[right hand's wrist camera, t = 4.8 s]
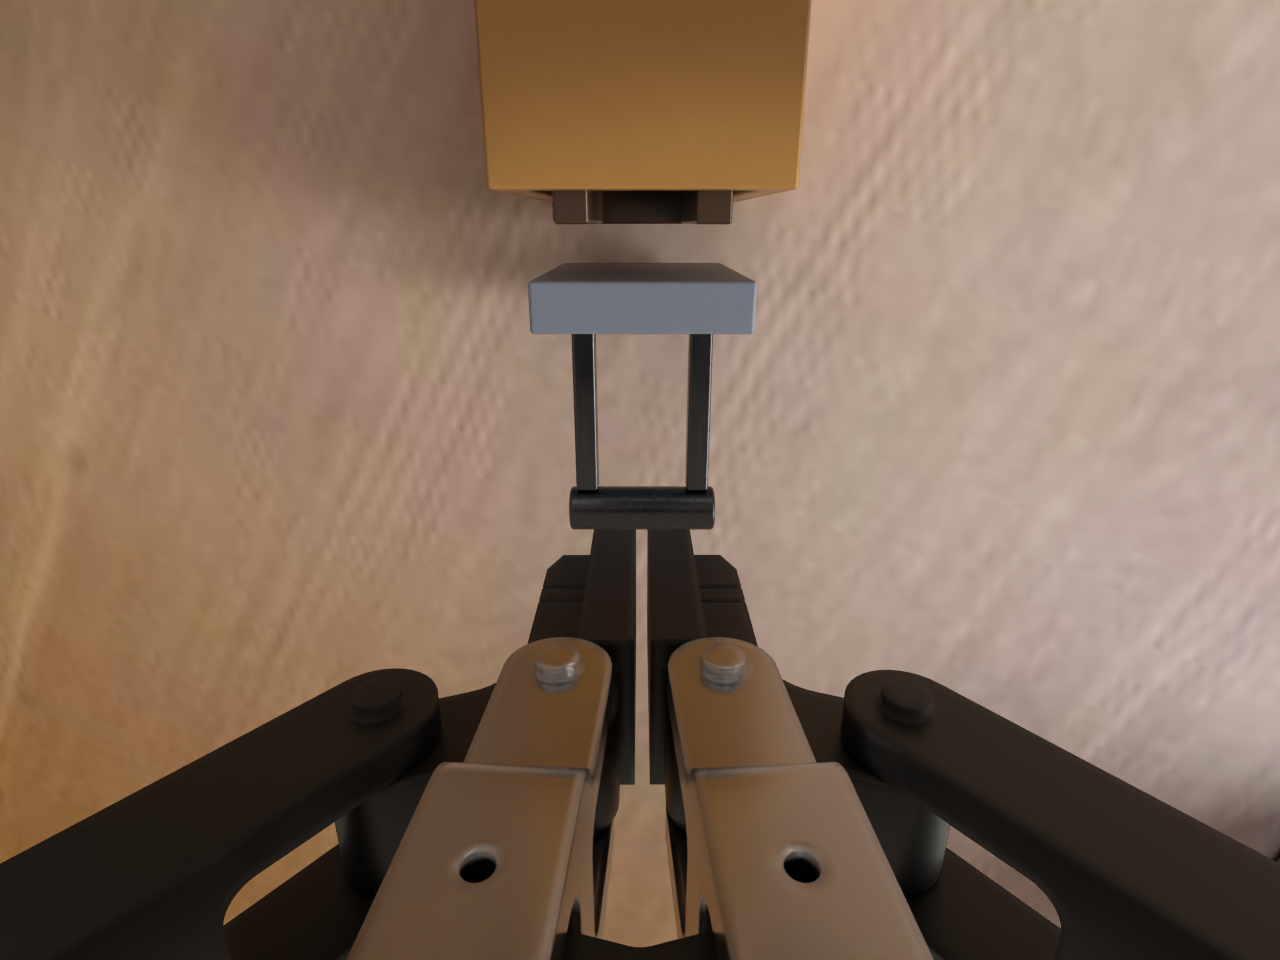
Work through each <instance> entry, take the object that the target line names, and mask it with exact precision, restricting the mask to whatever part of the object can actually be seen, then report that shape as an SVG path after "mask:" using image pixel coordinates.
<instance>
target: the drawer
mask: <svg viewBox="0 0 1280 960" xmlns="http://www.w3.org/2000/svg"><path fill="white" fill-rule="evenodd" d="M552 200H553V220H554V223H556V224H730V223H731V222H732V204H733V190H622V191H552ZM756 292H757V284H756V282H755V281H753V280H751V279H749V278H747V277H745V276H743V275H741V274H739V273H738V272H736V271H734V270H732V269H730V268H728V267H726V266H724V265H722V264H720V263H564V264H562V265H560V266H558V267H557V268H555V269H553V270H551V271H549V272H547V273H545V274H543V275H541V276H540V277H538V278H536V279H534V280H532V281H530V282H529V283H528V294H529V313H530V330H531V333H533V334H572V361H573V391H574V421H575V451H576V481H577V486H574V487H572V488H571V491H570V502H569V516H570V525H571V528H572V529H594V528H636V529H648V528H689V529H712V528H713V526H714V520H715V497H714V490H713V488H712V487H708V461H709V432H710V404H711V376H712V347H713V334H752V333H753V332H754V329H755V310H756ZM596 334H689V350H688V393H687V435H686V478H685V483H686V487H605V486H598V485H599V466H598V420H597V374H596Z"/></svg>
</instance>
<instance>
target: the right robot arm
mask: <svg viewBox="0 0 1280 960" xmlns="http://www.w3.org/2000/svg"><path fill="white" fill-rule="evenodd" d="M647 647H648V703H649V759H650V784H665V792H666V844H667V852H668V861H669V869H670V877H671V886H672V894H673V903H674V911H675V920H676V928H677V936H678V939H677V940H673V941H669V942H665V943H662V944H658V945H654V946H649V947H631V946H626V945H622V944H618V943H615V942H611V941H607V940H603V939H602V936H603V928H604V920H605V911H606V903H607V894H608V886H609V877H610V869H611V861H612V852H613V844H614V817H615V816H616V813H617V810H618V806H619V790H620V785H635V693H636V528H594V533H593V540H592V547H591V553H590V555H563V556H562V557H561V558H560V559H559V560H558V561H556V562H555V563H554V564H553V565H552V566H551V567H550V568H548V569H547V573H546V577H545V581H544V584H543V589H542V592H541V596H540V599H539V603H538V607H537V611H536V614H535V618H534V622H533V626H532V629H531V633H530V637H529V641H528V644H527V645H525V646H523V647H521V648H520V649H518V650H516V651H515V652H514V653H513V654H511V656H510V657H509V658H508V659H507V660H506V662H505V664H504V666H503V668H502V671H501V673H500V675H499V678H498V680H497V683H495V684H493V685H491V686H488V687H485V688H483V689H480V690H476V691H472V692H468V693H463V694H458V695H454V696H449V697H444V698H439V697H438V689H437V687H436V684H435V683H434V682H433V680H432V679H431V678H429V677H428V676H427V675H425V674H422V673H420V672H417V671H414V670H408V669H383V670H377V671H372V672H368V673H364V674H361V675H359V676H356V677H353V678H351V679H349V680H347V681H345V682H343V683H341V684H339V685H337V686H335V687H333V688H331V689H330V690H328V691H326V692H324V693H322V694H320V695H318V696H316V697H314V698H313V699H311V700H309V701H307V702H305V703H303V704H301V705H299V706H297V707H296V708H294V709H292V710H290V711H288V712H286V713H284V714H282V715H280V716H279V717H277V718H275V719H273V720H271V721H269V722H267V723H265V724H263V725H262V726H260V727H258V728H256V729H254V730H252V731H250V732H248V733H246V734H245V735H243V736H241V737H239V738H237V739H235V740H233V741H231V742H229V743H228V744H226V745H224V746H222V747H220V748H218V749H216V750H214V751H212V752H211V753H209V754H207V755H205V756H203V757H201V758H199V759H197V760H195V761H194V762H192V763H190V764H188V765H186V766H184V767H182V768H180V769H178V770H177V771H175V772H173V773H171V774H169V775H167V776H165V777H163V778H161V779H160V780H158V781H156V782H154V783H152V784H150V785H148V786H146V787H144V788H143V789H141V790H139V791H137V792H135V793H133V794H131V795H129V796H127V797H126V798H124V799H122V800H120V801H118V802H116V803H114V804H112V805H110V806H109V807H107V808H105V809H103V810H101V811H99V812H97V813H95V814H93V815H92V816H90V817H88V818H86V819H84V820H82V821H80V822H78V823H76V824H75V825H73V826H71V827H69V828H67V829H65V830H63V831H61V832H59V833H58V834H56V835H54V836H52V837H50V838H48V839H46V840H44V841H42V842H41V843H39V844H37V845H35V846H33V847H31V848H29V849H27V850H25V851H24V852H22V853H20V854H18V855H16V856H14V857H12V858H10V859H8V860H7V861H5V862H3V863H1V864H0V960H1280V858H1279V859H1278V860H1277V862H1275V861H1273V860H1272V859H1270V858H1268V857H1266V856H1264V855H1262V854H1260V853H1258V852H1256V851H1255V850H1253V849H1251V848H1249V847H1247V846H1245V845H1243V844H1241V843H1239V842H1238V841H1236V840H1234V839H1232V838H1230V837H1228V836H1226V835H1224V834H1222V833H1221V832H1219V831H1217V830H1215V829H1213V828H1211V827H1209V826H1207V825H1205V824H1204V823H1202V822H1200V821H1198V820H1196V819H1194V818H1192V817H1190V816H1188V815H1187V814H1185V813H1183V812H1181V811H1179V810H1177V809H1175V808H1173V807H1171V806H1170V805H1168V804H1166V803H1164V802H1162V801H1160V800H1158V799H1156V798H1154V797H1153V796H1151V795H1149V794H1147V793H1145V792H1143V791H1141V790H1139V789H1137V788H1136V787H1134V786H1132V785H1130V784H1128V783H1126V782H1124V781H1122V780H1120V779H1119V778H1117V777H1115V776H1113V775H1111V774H1109V773H1107V772H1105V771H1103V770H1102V769H1100V768H1098V767H1096V766H1094V765H1092V764H1090V763H1088V762H1086V761H1085V760H1083V759H1081V758H1079V757H1077V756H1075V755H1073V754H1071V753H1069V752H1068V751H1066V750H1064V749H1062V748H1060V747H1058V746H1056V745H1054V744H1052V743H1051V742H1049V741H1047V740H1045V739H1043V738H1041V737H1039V736H1037V735H1035V734H1034V733H1032V732H1030V731H1028V730H1026V729H1024V728H1022V727H1020V726H1018V725H1017V724H1015V723H1013V722H1011V721H1009V720H1007V719H1005V718H1003V717H1001V716H1000V715H998V714H996V713H994V712H992V711H990V710H988V709H986V708H984V707H983V706H981V705H979V704H977V703H975V702H973V701H971V700H969V699H967V698H966V697H964V696H962V695H960V694H958V693H956V692H954V691H952V690H950V689H949V688H947V687H945V686H943V685H941V684H939V683H937V682H935V681H933V680H931V679H928V678H926V677H923V676H920V675H917V674H913V673H909V672H903V671H896V670H877V671H871V672H867V673H863V674H861V675H859V676H857V677H855V678H854V679H853V680H851V681H850V683H849V684H848V685H847V687H846V690H845V696H844V698H842V697H837V696H832V695H828V694H823V693H818V692H814V691H810V690H806V689H803V688H800V687H797V686H795V685H793V684H791V683H788V682H786V681H785V680H783V679H782V678H781V675H780V673H779V671H778V668H777V666H776V664H775V662H774V660H773V659H772V658H771V657H770V656H769V654H767V653H766V652H765V651H764V650H762V649H760V648H759V647H758V646H757V642H756V638H755V635H754V631H753V628H752V624H751V620H750V617H749V613H748V610H747V606H746V603H745V599H744V595H743V592H742V589H741V584H740V581H739V577H738V574H737V570H736V569H735V568H734V567H733V566H732V565H731V564H730V563H729V562H727V561H726V560H725V559H724V558H723V557H722V556H721V555H694V554H693V547H692V541H691V535H690V529H689V528H648V559H647ZM334 822H335V826H336V832H337V837H338V842H339V844H338V845H336V846H335V847H334V848H332V849H331V850H329V851H328V852H327V853H325V854H324V855H322V856H321V857H320V858H318V859H317V860H315V861H314V862H312V863H311V864H310V865H308V866H307V867H305V868H304V869H303V870H301V871H300V872H298V873H297V874H296V875H294V876H293V877H291V878H290V879H289V880H287V881H286V882H284V883H283V884H282V885H280V886H279V887H277V888H276V889H275V890H273V891H272V892H270V893H269V894H268V895H266V896H265V897H263V898H262V899H260V900H259V901H258V902H256V903H255V904H253V905H252V906H251V907H249V908H248V909H246V910H245V911H244V912H242V913H241V914H239V915H238V916H237V917H235V918H234V919H232V920H231V921H230V922H228V923H227V924H225V925H224V926H223V921H224V917H225V913H226V911H227V909H228V906H229V905H230V903H231V901H232V899H233V898H234V897H235V895H236V894H237V893H238V892H239V890H240V889H241V888H242V887H243V886H244V885H245V884H246V883H247V882H248V881H249V880H251V879H252V878H253V877H255V876H256V875H257V874H259V873H260V872H262V871H263V870H265V869H266V868H268V867H269V866H271V865H272V864H274V863H275V862H276V861H278V860H279V859H281V858H282V857H284V856H285V855H287V854H288V853H290V852H291V851H293V850H294V849H295V848H297V847H298V846H300V845H301V844H303V843H304V842H306V841H307V840H309V839H310V838H312V837H313V836H315V835H316V834H317V833H319V832H320V831H322V830H323V829H325V828H326V827H328V826H329V825H331V824H332V823H334ZM950 825H951V826H952V827H954V828H955V829H957V830H958V831H960V832H961V833H963V834H964V835H966V836H967V837H968V838H970V839H971V840H973V841H974V842H976V843H977V844H979V845H980V846H982V847H983V848H985V849H986V850H987V851H989V852H990V853H992V854H993V855H995V856H996V857H998V858H999V859H1001V860H1002V861H1004V862H1005V863H1007V864H1008V865H1009V866H1011V867H1012V868H1014V869H1015V870H1017V871H1018V872H1020V873H1021V874H1023V875H1024V876H1026V877H1027V878H1028V879H1030V880H1031V881H1032V882H1034V883H1035V884H1036V885H1037V886H1038V887H1039V888H1040V889H1041V890H1042V891H1043V892H1044V893H1045V894H1046V895H1047V897H1048V898H1049V899H1050V901H1051V902H1052V904H1053V905H1054V907H1055V909H1056V911H1057V913H1058V915H1059V918H1060V922H1061V928H1059V927H1057V926H1056V925H1055V924H1053V923H1052V922H1050V921H1049V920H1048V919H1046V918H1045V917H1043V916H1042V915H1041V914H1039V913H1038V912H1036V911H1035V910H1034V909H1032V908H1031V907H1029V906H1028V905H1027V904H1025V903H1024V902H1022V901H1021V900H1020V899H1018V898H1017V897H1015V896H1014V895H1013V894H1011V893H1010V892H1008V891H1007V890H1005V889H1004V888H1003V887H1001V886H1000V885H998V884H997V883H996V882H994V881H993V880H991V879H990V878H989V877H987V876H986V875H984V874H983V873H982V872H980V871H979V870H977V869H976V868H975V867H973V866H972V865H970V864H969V863H968V862H966V861H965V860H963V859H962V858H961V857H959V856H958V855H956V854H955V853H954V852H952V851H951V850H949V849H948V848H946V844H947V839H948V834H949V829H950Z"/></svg>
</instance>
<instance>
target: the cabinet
mask: <svg viewBox="0 0 1280 960" xmlns="http://www.w3.org/2000/svg"><path fill="white" fill-rule="evenodd" d="M474 2H475V17H476V31H477V46H478V60H479V75H480V89H481V103H482V118H483V132H484V147H485V161H486V176H487V186H488V188H489V189H492V190H496V191H501V192H505V193H510V194H514V195H519V196H524V197H528V198H533V199H537V200H542V201H546V202H553V200H552V191H622V190H733V202H738V201H743V200H747V199H752V198H756V197H761V196H766V195H770V194H775V193H779V192H784V191H788V190H793V189H796V188H797V187H798V180H799V166H800V152H801V138H802V124H803V110H804V96H805V82H806V68H807V54H808V40H809V26H810V12H811V0H474Z"/></svg>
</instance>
